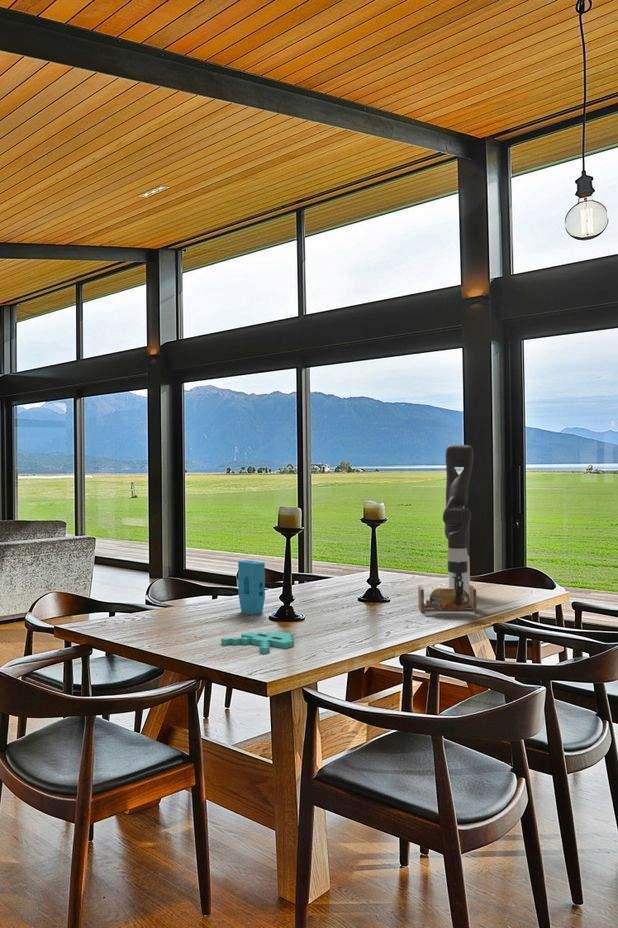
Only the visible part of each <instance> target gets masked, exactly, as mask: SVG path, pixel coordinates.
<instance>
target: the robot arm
mask: <svg viewBox="0 0 618 928" xmlns="http://www.w3.org/2000/svg"><path fill="white" fill-rule="evenodd" d="M473 464H474V448H473V446H472V445H467V444H449V445H448V446H447V447H446V450H445V469H446V483H445V485H446V486H445V509H444V510H443V514H442V520H443V521H442V522H443V523H444V536H445V538H446V539H447V572H448V588H454V589H455V603H456V606H461V605H462V597H461V596H462V595H463V590H465V591H466V592H467V593H468V595H469V585H471V580H470V579H471V578H470V577H471V575H470V574H471V573H470V572H471V571H470V568H471V566H470V563H471V562H470V536H471V533H470V532H471V530H470V529H471V526H470V525H471V524H470V523H471V520H472V512H471V510H470V509H469V508H467V507H466V506H467V505H468V499H469V498H468V497H469V483H470V480H471V476H472V475H471V474H472V471H473ZM456 468H463V469H462V471H461V472H460V473H458V472H457V469H456ZM458 590H460V592H458Z"/></svg>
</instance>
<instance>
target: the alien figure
mask: <svg viewBox="0 0 618 928" xmlns="http://www.w3.org/2000/svg"><path fill="white" fill-rule="evenodd" d="M240 636H241V637H233V638H230V637H223V638H221V641H220V643H221V645H223V646H228V645H229V646H230V645H233V646H234V645H235V646H237V645H244V646H245V645H250V644H251V645H255V646H259V653H260V654H264V655H265V654H270V653H271V647H277V648H279V649H288V648H292V647H295V637H294V634H293V633H289V632H283V631H276V632H275V631H274V632H272V631H267V632H266V631H265V632H263V631H259V632H254V631H252V632H251V631H250V632H249V631H248V632H246V633H241V635H240Z"/></svg>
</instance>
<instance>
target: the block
mask: <svg viewBox="0 0 618 928" xmlns="http://www.w3.org/2000/svg"><path fill="white" fill-rule="evenodd" d="M237 563H238V564H237V565H238V569H237V570H238V577H237V578H238V579H237V580H238V583H237V584H238V599H239V606H240V612H241V613H243V614H247V615H252V616H256V615H263V613H264V606H265V605H264V604H265V598H266V587H265V586H266V583H265V582H266V580H265V579H266V577H265V576H266V574H265V573H266V571H265V570H266V569H265V568H266V565H265V562H263V561H257V560H256V561H255V560H249V559H246V560H239V561H237Z"/></svg>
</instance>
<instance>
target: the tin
mask: <svg viewBox="0 0 618 928" xmlns="http://www.w3.org/2000/svg"><path fill="white" fill-rule="evenodd" d="M458 592H460V590H458ZM461 597H462V605H461V606H456V603H455V589H454V588H449V587H442V588H441V587H440V588H435V589H433V591H431V593H430V596H429V600H430V603H431V605H432V607H433V608H434V609H436V610H439V611H446V610H463V609H465V608H466V607H467V606H468V604H469V600H470V599H469V595H468V593H467V592H466V591H465V590H463V595H462V596H461Z"/></svg>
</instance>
